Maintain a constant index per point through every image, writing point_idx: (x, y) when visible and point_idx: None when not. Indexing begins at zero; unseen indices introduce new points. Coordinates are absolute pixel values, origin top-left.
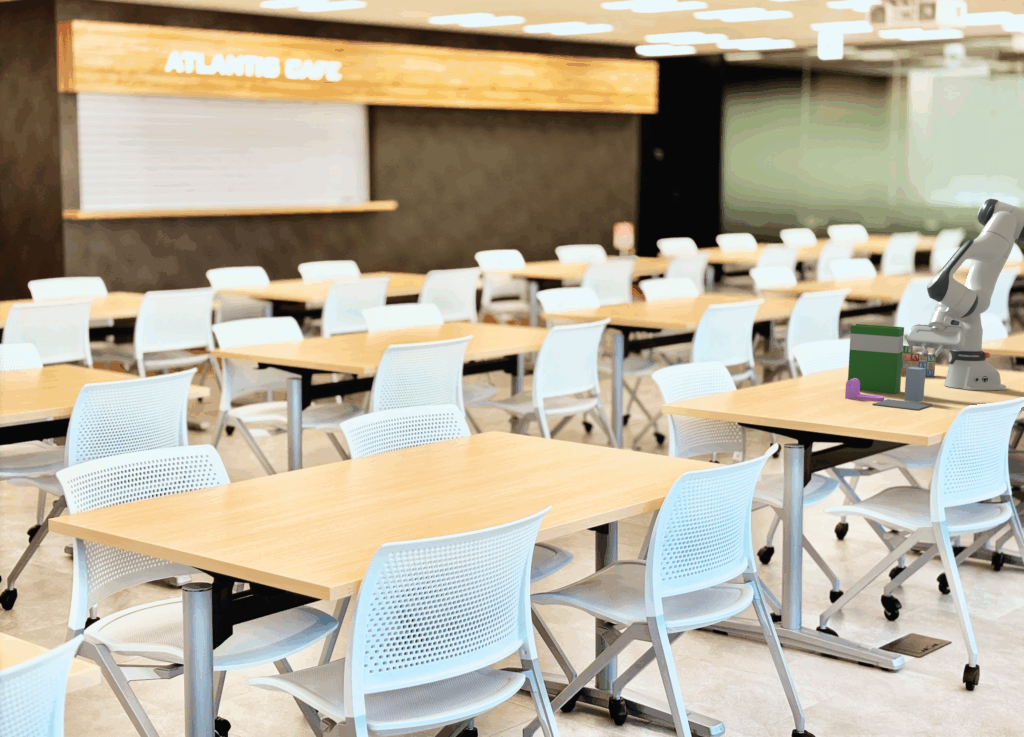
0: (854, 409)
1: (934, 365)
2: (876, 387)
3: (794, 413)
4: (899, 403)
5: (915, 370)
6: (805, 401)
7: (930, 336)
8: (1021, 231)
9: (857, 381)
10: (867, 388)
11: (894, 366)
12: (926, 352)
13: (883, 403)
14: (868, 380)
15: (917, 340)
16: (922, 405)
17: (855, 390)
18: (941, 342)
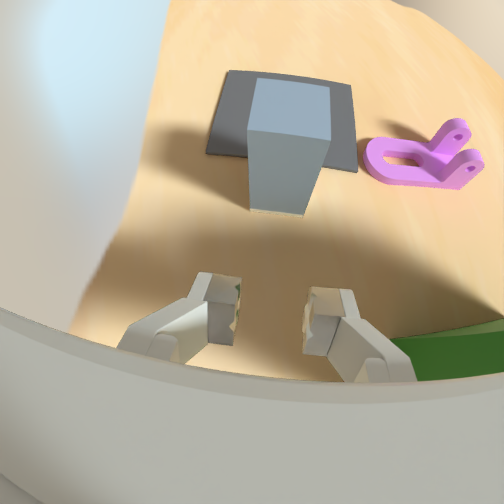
0: (347, 39)
1: None
2: (456, 329)
3: (385, 6)
4: None
5: (281, 85)
6: (454, 85)
7: (362, 494)
8: None
9: (463, 152)
10: (473, 325)
11: (463, 334)
12: (311, 294)
13: (333, 98)
14: (490, 323)
15: (491, 376)
16: (230, 119)
17: (436, 134)
18: (116, 355)
